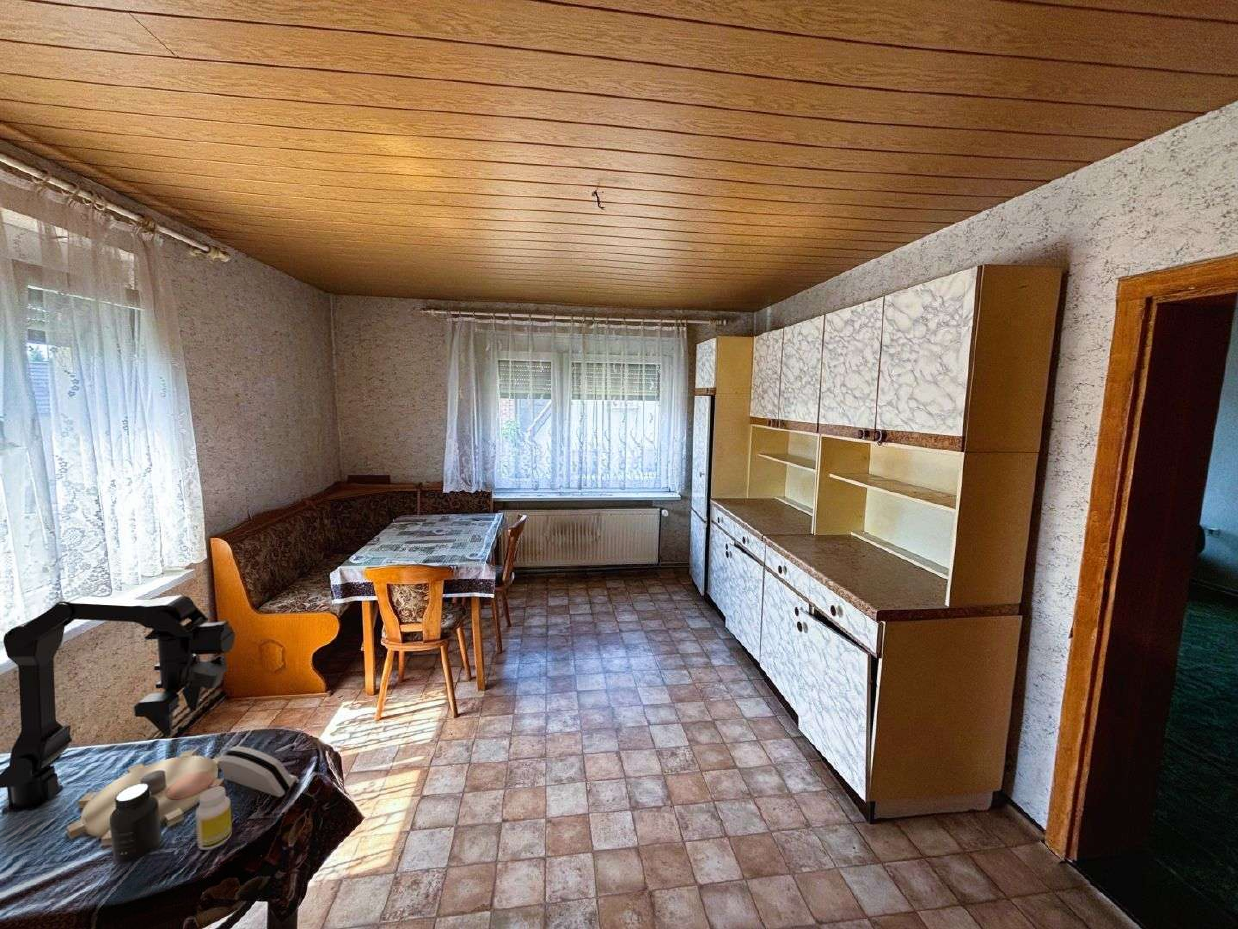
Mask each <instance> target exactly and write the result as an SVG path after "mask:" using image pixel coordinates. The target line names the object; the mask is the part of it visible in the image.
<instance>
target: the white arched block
mask: <svg viewBox="0 0 1238 929" xmlns="http://www.w3.org/2000/svg"><path fill="white" fill-rule="evenodd" d="M218 764H219V766H220V768H219V769H220V770H221V771H222V774H223V775H224V778H225V780H227V779H228V781H231V782H233V781H234V782H233V783H236V784H240V785H242V786H245V787H248V788H251V789H254V790H256V791H258V792H259V791H260V792H263V793H266V794H268V795H272V796H275V797H277V798H281V797H283V796H284V795H285V794H286V788H291V786H293V784H294V783H295V784H299V783H300V780H299V778H298V776H296V775H292V774H291V773H288V771H287V769H286V768H285V766H284V764H283V763H282V762H281V761H280V760H279V759H278V758H275V757H273V756H271V755H269V754H267V753H265V752H262V751H260V750H257V749H254V748H250V747H245V746H232V747H231V748H230V749H228V750H227V752H226V754H225V755H223V756H222V757H221V758H220V760H219V761H218Z"/></svg>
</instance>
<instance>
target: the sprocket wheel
mask: <svg viewBox="0 0 1238 929" xmlns="http://www.w3.org/2000/svg"><path fill="white" fill-rule="evenodd" d="M222 756H224V754H221V755H219V756H217V757H215V758H209V757H207V756H202V755H197V750H196V749H194V750H185V751H183V752H182V753H181V754H180V755H179V756H176V757H171V758H167V759H163V760H159V761H155V762H153V763H151V764H148V765H144V764H143V763H142V762H140V763H138V764H135V765H133V766H130V767H128V768H127V774H124V775H122V776H120V777H119V778H117V779H115V780H113V781H112V782H110V783H109V784H108V785H106V786H104V787H103V788H102V789H101V790H99V791H93V792H87V793H86V794H85V795H84V796H82V797H81V798H80V799H79V800H78V802H77V803H78V808H79V809H81V808H82V811H81V814H80V816H81V817H80V820H77V821H75V822H72V823H71V824H68V825H66V832H67V835H68V837H69V839H70V840H71V839H73V838H76V837H78V836H79V835H82V834H84V833H86V834H88V835H90V836H92V837H97V838H101V839H100V840H101V847H107V846H112V838H111V829H110V816H111V814H112V812H113V811H114V810H115V809H116V808H115V798H116V796H117V795H118V793H120V792H121V791H123V790H124V789H126V788H128V787H130V786H133V785H136V784H141V783H145V784H148V785H149V787H150V792H151V795H153V796H155V797H156V798H157V799H158V804H159V813H160V823H161V825H163V824H164V823H165V825H166V826H168V827H169V828H170V827H171V826H172V827H173V825H175V824H177V823H179V822H181V821H183V820H184V813H186V812H187V811H189V810H191V809H192V808H193V807H195V806H196V805H198V804H199V803H200V802H199V798H200V795H201V794H202V793H203V792H205V791H206V790H208V789H210V788H213V787H217V786H222V787H223V786H224V787H225V785H226V778H225V777H224V778H219V769H221V768H220V766H219V764H218V761H219V760H220V758H221V757H222ZM218 768H219V769H218Z"/></svg>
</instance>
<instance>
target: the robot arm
mask: <svg viewBox="0 0 1238 929" xmlns="http://www.w3.org/2000/svg"><path fill="white" fill-rule="evenodd" d="M75 620H79V621H80V620H81V621H83V620H84V621H103V622H119V623H120V622H123V623H127V622H128V623H133V624H134V623H135V624H138V625H141V626H142V627H144V628H146V629H150V630H151V631H150V632H149V633H148V634H147V635H145V637H144V639H145V641H148V640H157V650H158V663H157V664H155V665H154V666H153V670H154V671H159V676H160V677H159V678H160V680H159V681H158V682H157V683H155V689H162V690H164V691H163V692H154V693H149V694H147V695H146V696H145V697H143V699H141V700H140V701H139V702H137V703H136V704H135V705H134V706H133V713H134V714H133V715H134V717H135V718H146V719H147V720H148V721H149V722H150V723H151V724H153V726H155V727H156V728H157V730H159V732H160V733H161V734H162V735H163V736H165V737H166V736H168V737H169V736H171V735H172V732H173V721H174V712H175V711H176V710H177V709H178V708H179V707H180V706H181V704H179V702H180V695H179V693H181V692H182V695H183V697H184V699H185V702H186V704H187V707H188V709H189V711H190V712H194V711H197V709H198V706H199V703H200V700H201V696H202V693H203V689H206V690H211V689H213V688H215V687H216V686H217V684H218V683H219V682H221V681H222V679H223V676H224V673H225V672H226V671H227V670H228V664H227V658H226V656H224V655H222V654H228V653H229V652H230V651H231V650H232V648H233V646H234V644H235V638H236V633H235V631H234V629H233V627H232V626H230V625H229V621H228V620H226V621H225V620H224V621H218V622H208V621H209V620H210V619H209V618H208V617H207V616H206V615H205V614H204V612H202V611H201V610H200V609H199V608H198V607H197V606H196V604H195V602H194V600H192V599H191V597H189V596H187V595H184V594H183V595H181V594H179V595H178V594H177V595H169V596H163V597H162V596H161V597H158V598H157V597H156V598H152V599H135V598H134V599H132V598H114V597H113V598H111V597H96V596H95V597H93V596H85V595H82V594H81V595H78V594H76V595H73V596H70V597H68V598H66V599H63V600H61V601H59V602H57V603H56V604H54V605H53V606H52V607H51V608H48V610H47V611H45V612H43V613H41V614H39V616H38V615H37V617H35V618H33V619H30V620H28V621H26V622H24V623H21V624H19V625H18V626H14V627H13V628H11V629H9V630H8V631H7V632H6V633H5V634H4V636H3V641H2V642H3V647H4V648H5V649H4V650H5V653H6V656H7V658H8V659H9V660H11V661H12V662H13V663H14V664H16V666H17V668H18V670H17V671H18V685H19V686H18V688H19V689H18V691H19V708H20V709H19V710H20V712H19V714H20V733H19V735H18V736H17V738H16V740H15V742H14V744H13V746H12V748H11V751H10V757H9V760H8V761H9V764H8V766H7V767H6V768H5V769H4V770H3V771H1V773H0V789H4V788H6V792H7V798H8V799H7V800H8V801H7V802H8V804H7V805H6V806H4V807H3V808H2V809H1V813H10V812H11V813H13V812H22V811H27V810H28V811H30V810H36V809H39V808H41V807H42V806H43V805H44V804H46V803H47V802H48V801H49V800H51V798H53V797H54V796H55V795H56V794H57V793H58V792H60V791H61V790H62V789H63V788H64V785H63V784H60V785H59V780H58V773H56V770H55V765H53V764H54V763H56V762H57V761H59V760H60V759H61V757H62V754H63V753H64V752H65V751H66V750H67V749H68V747H69V745H70V743H71V742H72V741H73V739H72V737H71V731H72V730H71V729H72V727H71V725H70V724H68V725H62V724H61V723H60V722H58V721H57V717H56V716H57V714H56V711H57V710H56V688H55V687H56V686H55V668H54V667H55V664H54V663H55V662H54V659H55V655H56V654H57V652H58V650H59V648H60V647H61V645H62V643H63V640H64V633H65V627H67V626H68V625H70V624H71V623H72V622H74V621H75ZM187 620H190V621H189V622H187V623H186V624H184V625H183V623H184V622H186V621H187ZM215 654H218V655H217V656H216V657H215V658H213V659H201V656H202V655H215ZM220 654H221V655H220Z"/></svg>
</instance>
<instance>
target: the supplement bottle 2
mask: <svg viewBox="0 0 1238 929" xmlns="http://www.w3.org/2000/svg"><path fill="white" fill-rule="evenodd" d="M198 803H199V806H198V807H197V808H196V810H195V825H196V828H195V829H196V841H197V842H196V843H197V847H198V849H200V850H204V851H207V850H212V849H216V848H217V847H220V846H221V845H222V844H225V843H226V842H227V841H228V839H230V837H231V836H232V834H233V833H232V832H233V825H232V809H231V808H232V807H231V806H232V805H231V804H232V803H231V799H230V797H229V796H226V788H225V786H224V787H222V786H217V787H213V788H210V789H208V790H206V791H205V792H203V793H202V794H201V795H200V798H199V802H198Z"/></svg>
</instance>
